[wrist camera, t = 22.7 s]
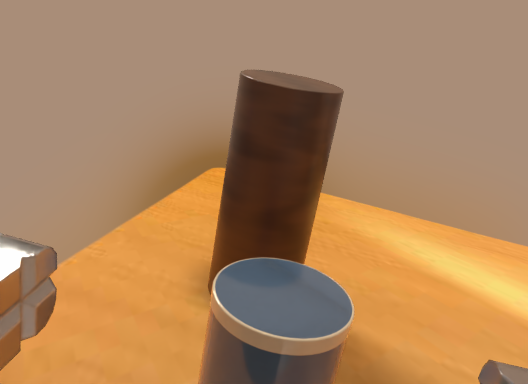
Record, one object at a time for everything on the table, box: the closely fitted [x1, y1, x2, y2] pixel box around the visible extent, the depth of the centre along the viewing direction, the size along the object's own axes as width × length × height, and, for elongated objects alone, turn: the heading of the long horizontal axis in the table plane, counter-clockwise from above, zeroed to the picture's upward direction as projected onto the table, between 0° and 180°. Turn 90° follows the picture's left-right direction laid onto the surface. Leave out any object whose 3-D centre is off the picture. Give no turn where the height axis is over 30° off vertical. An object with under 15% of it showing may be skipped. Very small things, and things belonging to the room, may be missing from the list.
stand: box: [208, 70, 343, 294], centre depth 38 cm, size 8×8×18 cm
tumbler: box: [198, 258, 355, 384], centre depth 24 cm, size 7×7×10 cm
